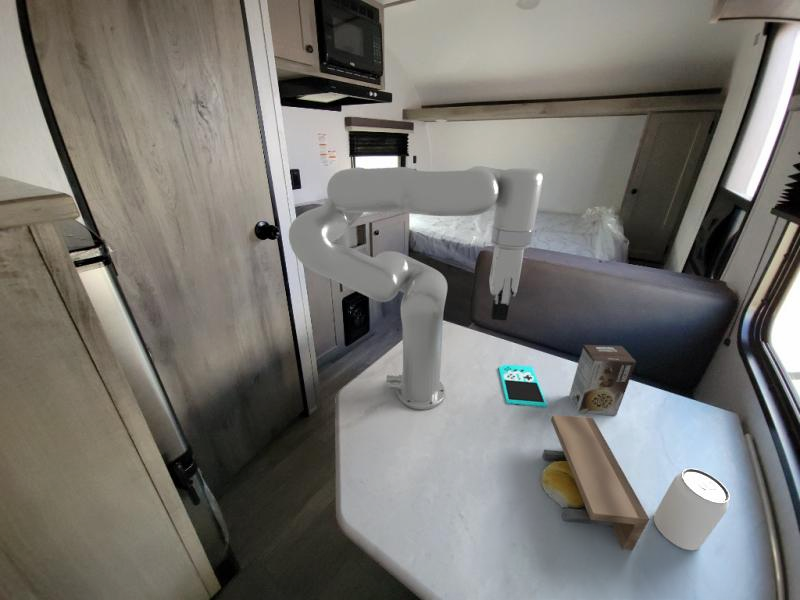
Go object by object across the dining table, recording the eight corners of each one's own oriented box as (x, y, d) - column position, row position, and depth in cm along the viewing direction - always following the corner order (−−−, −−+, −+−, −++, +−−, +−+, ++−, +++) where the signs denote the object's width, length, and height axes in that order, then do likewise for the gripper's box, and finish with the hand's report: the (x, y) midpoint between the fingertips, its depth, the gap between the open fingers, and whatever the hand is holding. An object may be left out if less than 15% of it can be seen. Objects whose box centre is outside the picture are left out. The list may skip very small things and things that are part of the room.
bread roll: (597, 489, 61) (603, 475, 60) (575, 519, 56) (581, 505, 55) (556, 459, 67) (560, 445, 65) (532, 484, 62) (536, 471, 60)
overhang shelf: (570, 543, 53) (583, 512, 49) (537, 442, 71) (544, 414, 67) (632, 550, 52) (649, 519, 48) (582, 446, 70) (592, 417, 66)
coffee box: (604, 397, 83) (622, 345, 76) (617, 416, 77) (638, 361, 70) (567, 395, 84) (582, 343, 77) (577, 413, 78) (594, 359, 71)
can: (643, 512, 57) (667, 467, 52) (677, 509, 58) (704, 464, 52) (674, 554, 51) (705, 508, 46) (711, 550, 52) (746, 504, 46)
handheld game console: (532, 369, 94) (533, 365, 94) (547, 409, 80) (548, 405, 80) (497, 366, 96) (498, 363, 95) (506, 405, 81) (507, 401, 81)
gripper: (490, 227, 70) (480, 302, 78) (493, 246, 57) (481, 333, 65) (526, 228, 69) (512, 305, 77) (538, 248, 55) (520, 338, 64)
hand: (498, 318), depth 71 cm, fingers closed
